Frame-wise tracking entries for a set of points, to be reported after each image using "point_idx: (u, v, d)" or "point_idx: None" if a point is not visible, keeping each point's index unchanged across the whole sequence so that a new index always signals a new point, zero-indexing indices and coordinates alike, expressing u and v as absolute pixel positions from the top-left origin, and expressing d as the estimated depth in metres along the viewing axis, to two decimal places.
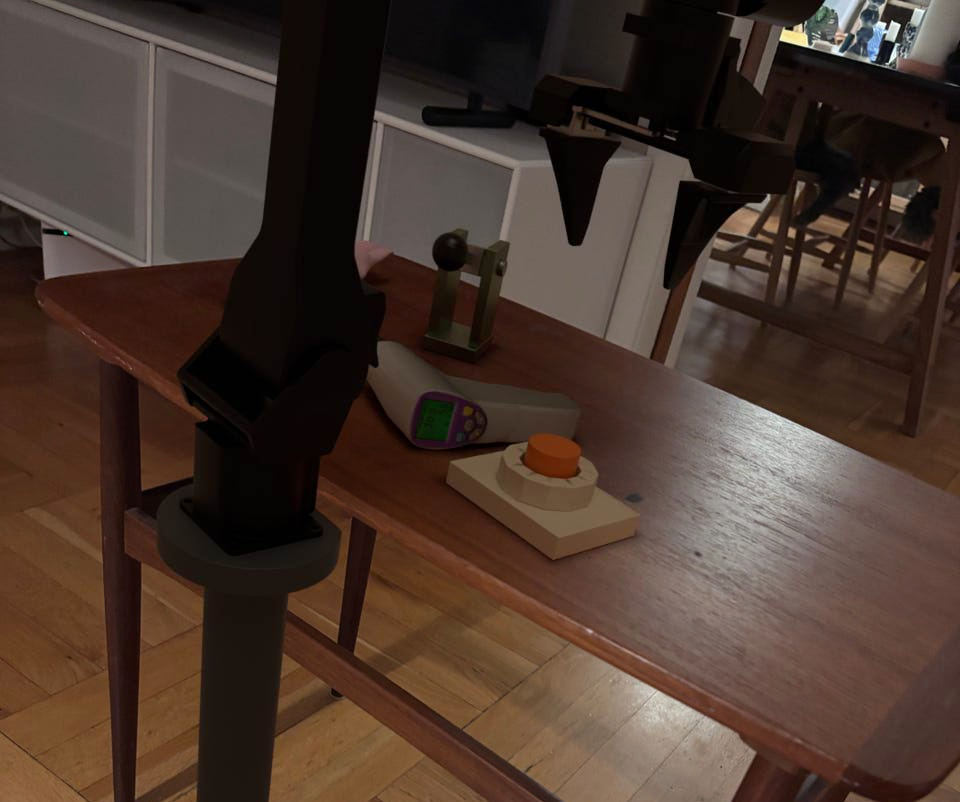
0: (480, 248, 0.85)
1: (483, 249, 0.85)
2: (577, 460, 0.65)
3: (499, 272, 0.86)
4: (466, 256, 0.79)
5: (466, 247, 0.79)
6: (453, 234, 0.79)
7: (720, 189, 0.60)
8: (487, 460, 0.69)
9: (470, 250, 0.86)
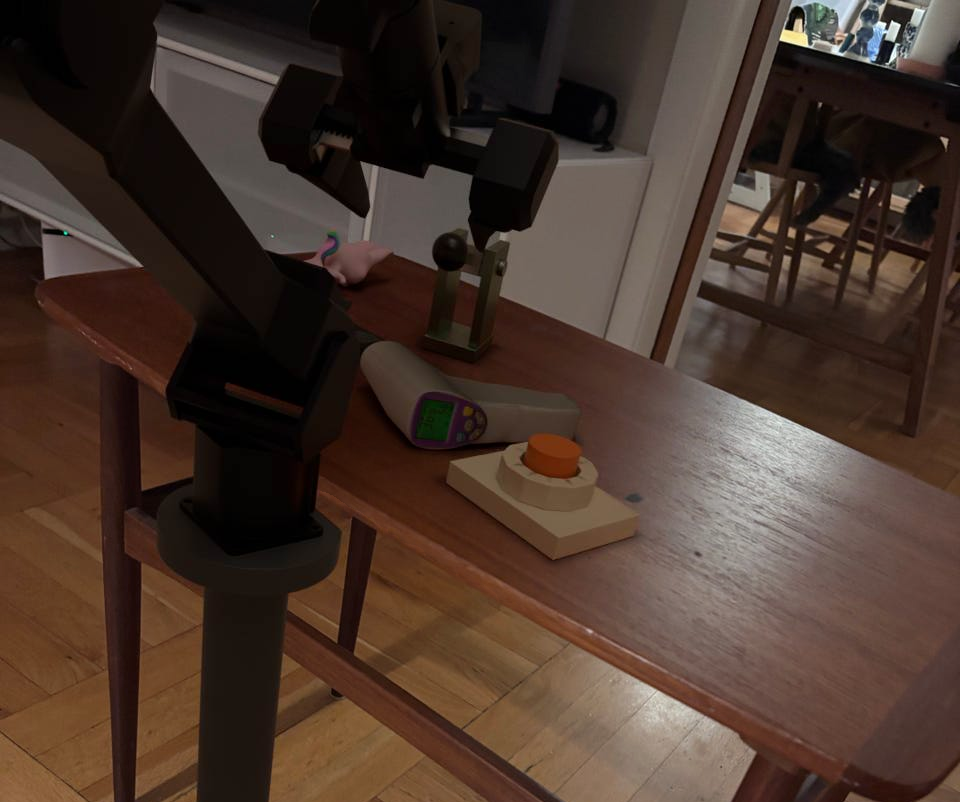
0: None
1: None
2: (577, 460, 0.65)
3: (499, 272, 0.86)
4: (466, 256, 0.79)
5: (466, 247, 0.79)
6: (453, 234, 0.79)
7: None
8: (487, 460, 0.69)
9: (470, 250, 0.86)
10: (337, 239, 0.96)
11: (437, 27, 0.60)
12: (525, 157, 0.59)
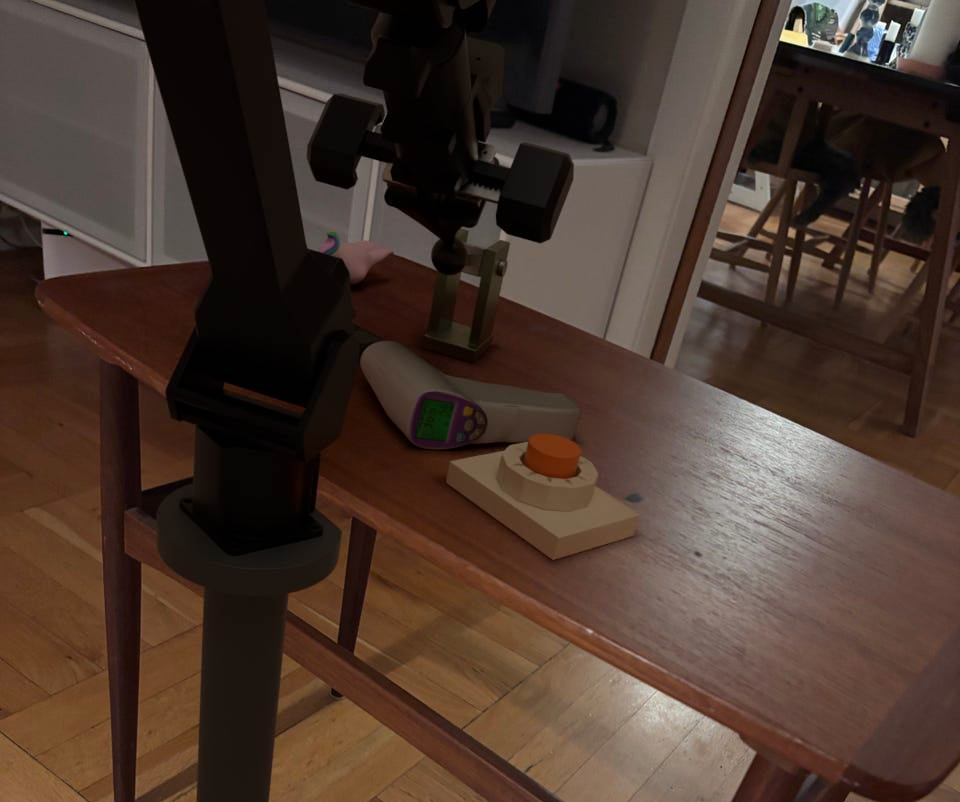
0: (480, 249, 0.85)
1: (483, 250, 0.85)
2: (577, 460, 0.65)
3: (499, 272, 0.86)
4: (465, 260, 0.79)
5: (465, 251, 0.79)
6: None
7: (470, 206, 0.71)
8: (487, 460, 0.69)
9: (470, 251, 0.86)
10: (337, 239, 0.96)
11: None
12: (545, 178, 0.68)
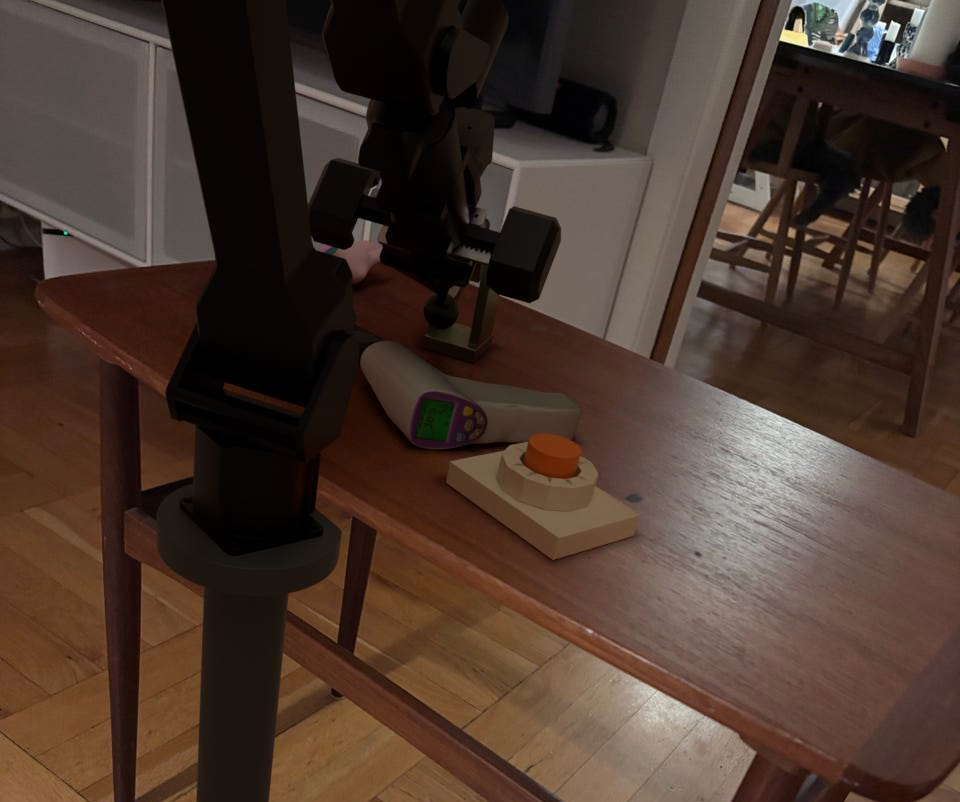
0: None
1: None
2: (577, 460, 0.65)
3: None
4: (456, 317, 0.82)
5: (454, 310, 0.82)
6: (440, 302, 0.81)
7: (462, 266, 0.74)
8: (487, 460, 0.69)
9: None
10: None
11: (457, 132, 0.70)
12: (533, 243, 0.71)
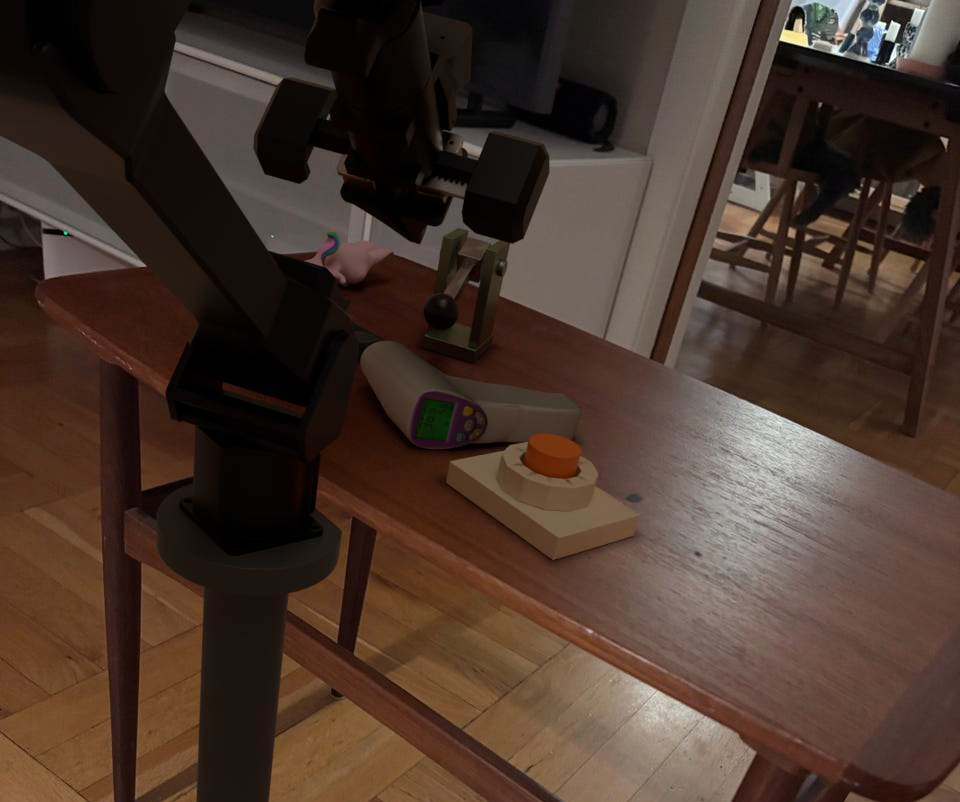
0: (476, 260, 0.85)
1: (479, 261, 0.85)
2: (577, 460, 0.65)
3: (499, 272, 0.86)
4: (456, 318, 0.82)
5: (454, 311, 0.82)
6: (440, 303, 0.81)
7: (435, 202, 0.64)
8: (487, 460, 0.69)
9: (467, 261, 0.86)
10: (337, 239, 0.96)
11: (428, 42, 0.60)
12: (517, 171, 0.61)
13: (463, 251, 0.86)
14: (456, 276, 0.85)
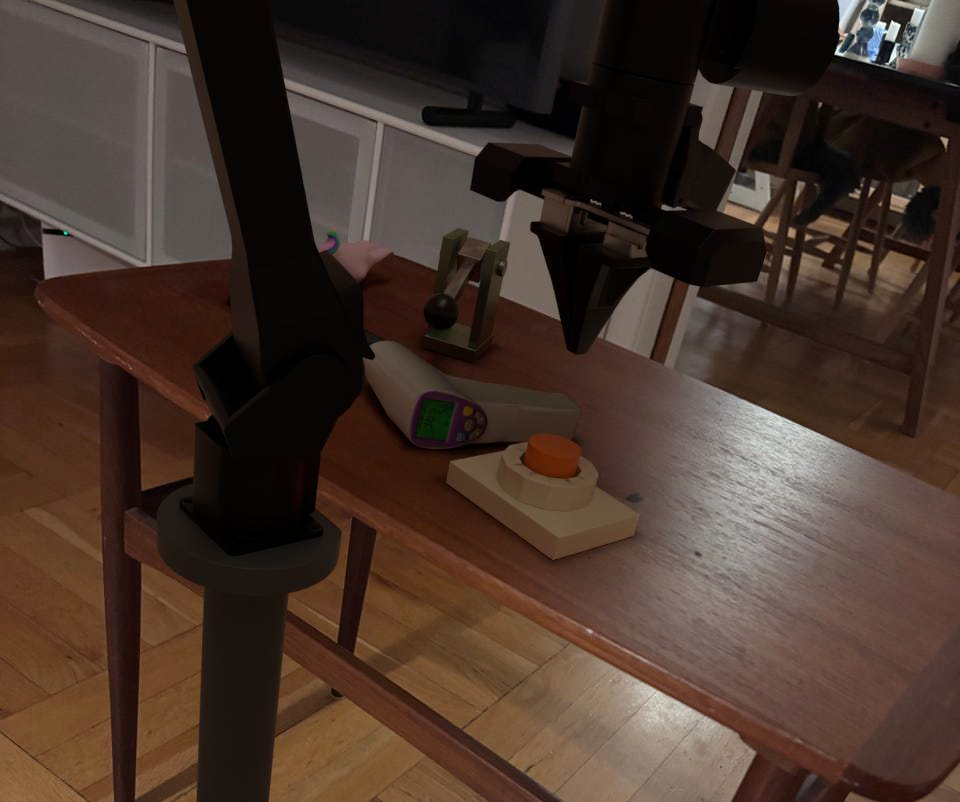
0: (476, 260, 0.85)
1: (479, 261, 0.85)
2: (577, 460, 0.65)
3: (499, 272, 0.86)
4: (456, 318, 0.82)
5: (454, 311, 0.82)
6: (440, 303, 0.81)
7: (622, 253, 0.55)
8: (487, 460, 0.69)
9: (467, 261, 0.86)
10: (337, 239, 0.96)
11: None
12: (728, 224, 0.52)
13: (463, 251, 0.86)
14: (456, 276, 0.85)
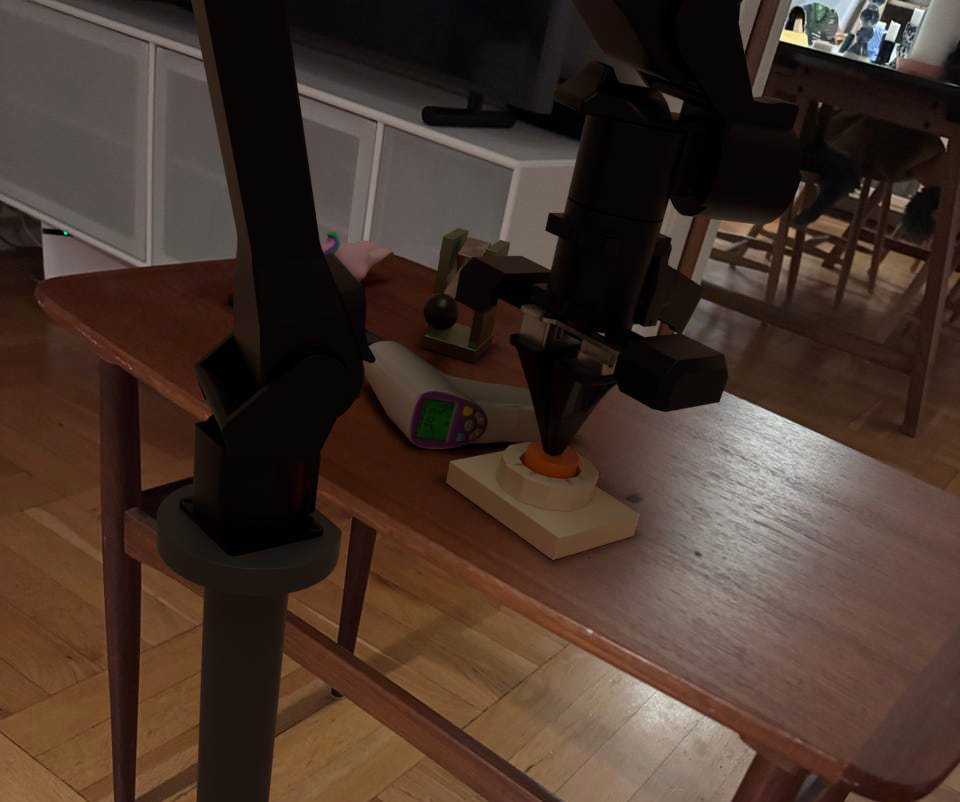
0: None
1: None
2: (575, 468, 0.65)
3: None
4: (456, 318, 0.82)
5: (454, 311, 0.82)
6: (440, 303, 0.81)
7: (594, 371, 0.59)
8: (487, 460, 0.69)
9: (467, 261, 0.86)
10: (337, 239, 0.96)
11: None
12: (692, 352, 0.55)
13: (463, 251, 0.86)
14: (456, 276, 0.85)
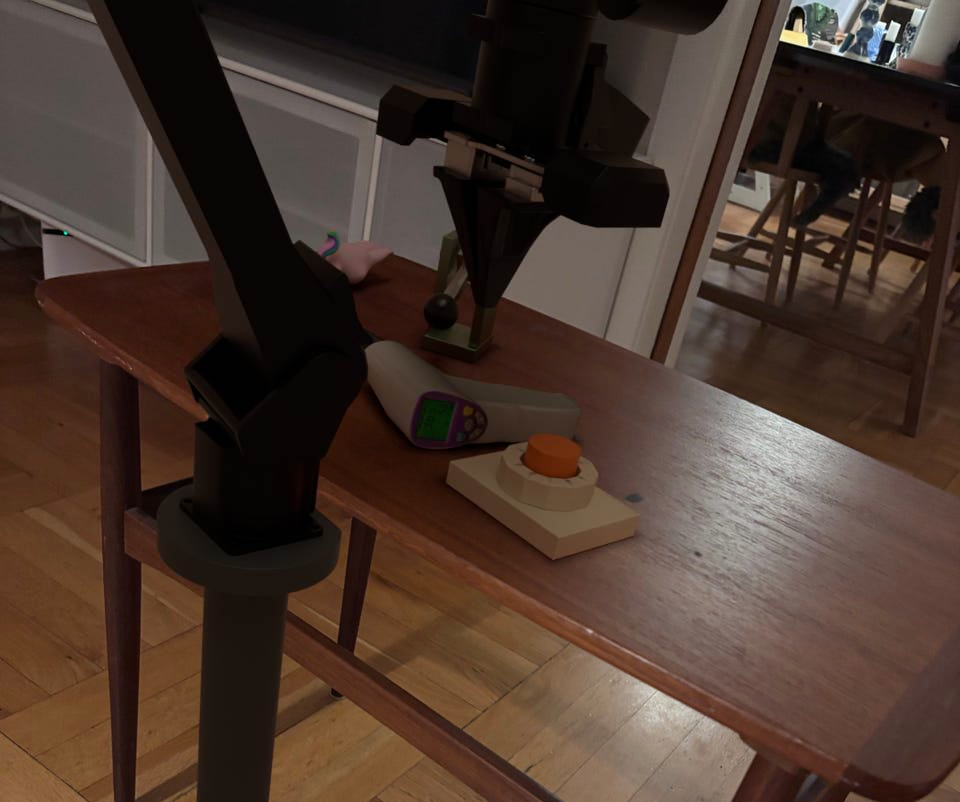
0: None
1: None
2: (577, 460, 0.65)
3: None
4: (456, 318, 0.82)
5: (454, 311, 0.82)
6: (440, 303, 0.81)
7: (523, 197, 0.53)
8: (487, 460, 0.69)
9: None
10: (337, 239, 0.96)
11: None
12: (627, 164, 0.49)
13: None
14: (456, 276, 0.85)
